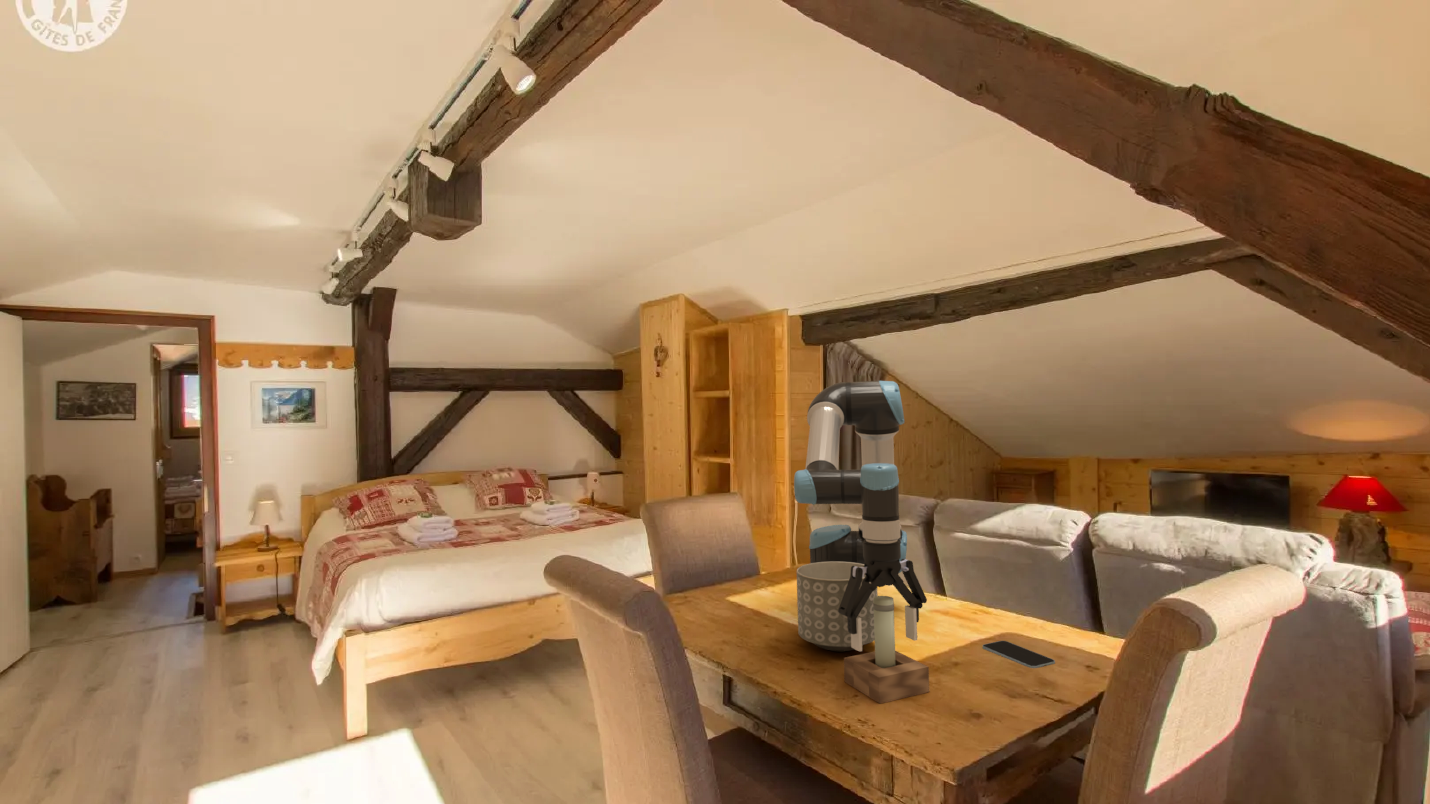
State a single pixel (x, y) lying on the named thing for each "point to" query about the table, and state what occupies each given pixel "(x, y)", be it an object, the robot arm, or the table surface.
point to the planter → (829, 606)
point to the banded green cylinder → (884, 631)
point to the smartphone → (1018, 654)
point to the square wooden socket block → (886, 677)
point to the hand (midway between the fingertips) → (884, 643)
